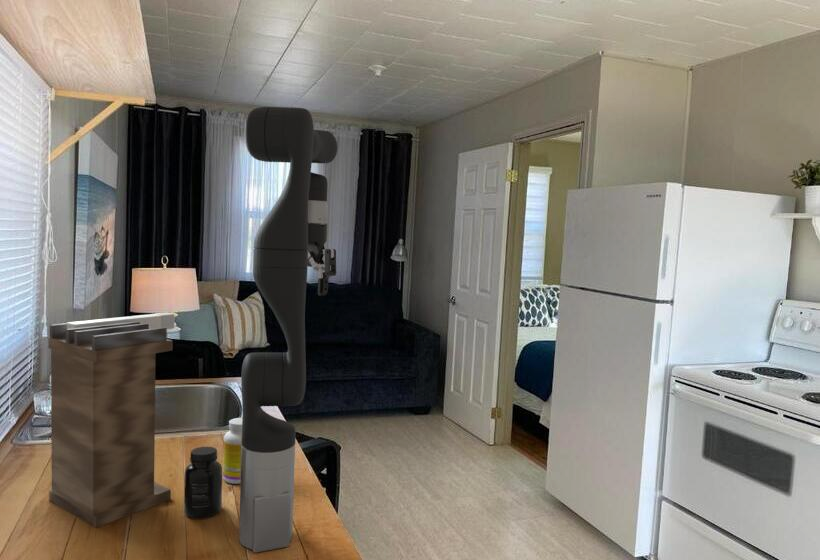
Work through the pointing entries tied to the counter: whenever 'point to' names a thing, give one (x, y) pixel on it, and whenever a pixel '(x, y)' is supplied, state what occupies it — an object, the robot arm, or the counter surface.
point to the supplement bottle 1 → (203, 484)
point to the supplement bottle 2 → (233, 452)
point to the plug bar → (152, 319)
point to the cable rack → (104, 419)
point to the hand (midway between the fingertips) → (308, 293)
